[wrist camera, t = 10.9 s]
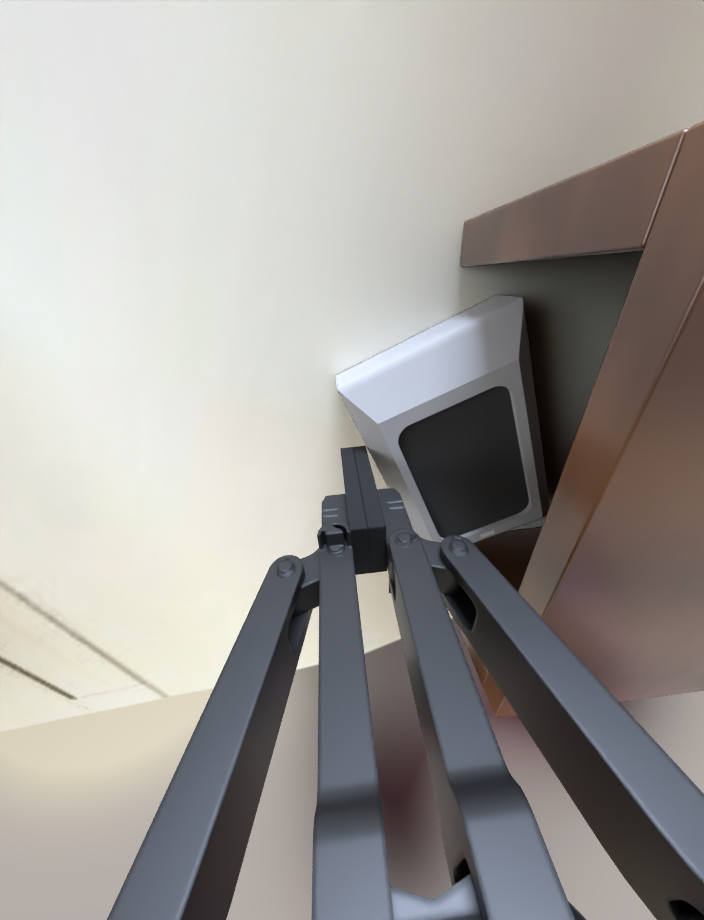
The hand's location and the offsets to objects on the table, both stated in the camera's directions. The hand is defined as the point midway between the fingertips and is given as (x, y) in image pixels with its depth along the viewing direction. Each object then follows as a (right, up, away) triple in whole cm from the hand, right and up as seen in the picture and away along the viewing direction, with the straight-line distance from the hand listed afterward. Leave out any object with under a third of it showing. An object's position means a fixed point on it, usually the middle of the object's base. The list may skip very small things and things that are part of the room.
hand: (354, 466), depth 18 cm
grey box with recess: (+6, +2, +3) cm, 7 cm away
